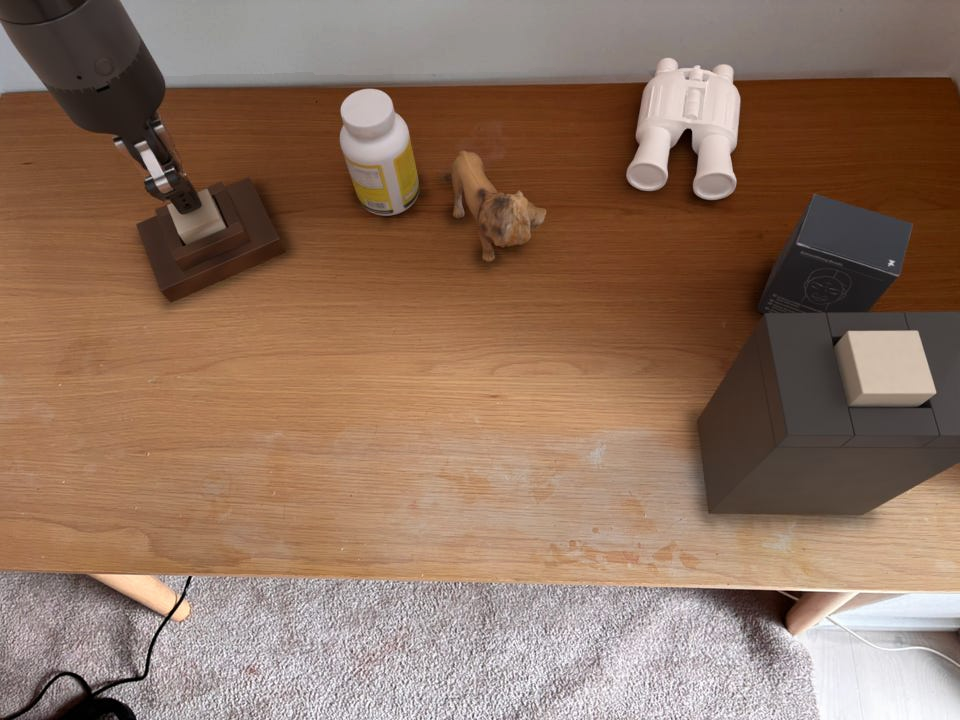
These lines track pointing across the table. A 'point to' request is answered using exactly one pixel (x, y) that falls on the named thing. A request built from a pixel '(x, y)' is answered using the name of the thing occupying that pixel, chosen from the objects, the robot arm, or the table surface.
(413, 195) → the pill bottle
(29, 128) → the table surface
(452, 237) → the table surface
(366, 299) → the table surface
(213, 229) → the key far
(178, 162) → the robot arm
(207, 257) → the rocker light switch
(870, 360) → the key near
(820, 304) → the box
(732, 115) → the binoculars
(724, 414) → the dark block with slot
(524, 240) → the lion figurine
